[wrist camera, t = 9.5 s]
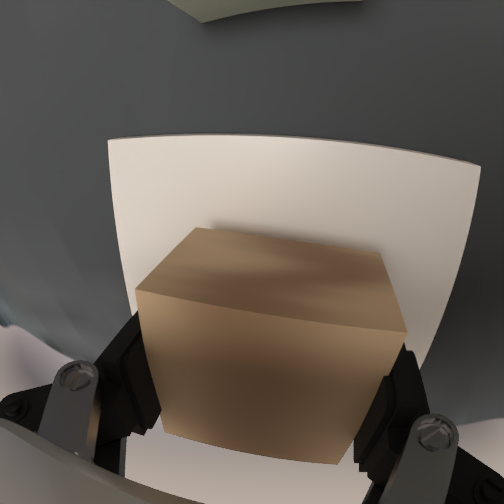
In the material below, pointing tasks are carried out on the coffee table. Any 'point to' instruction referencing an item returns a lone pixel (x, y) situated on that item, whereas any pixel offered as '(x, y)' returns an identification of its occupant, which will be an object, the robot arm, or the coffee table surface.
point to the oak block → (268, 342)
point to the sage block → (234, 7)
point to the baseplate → (300, 206)
